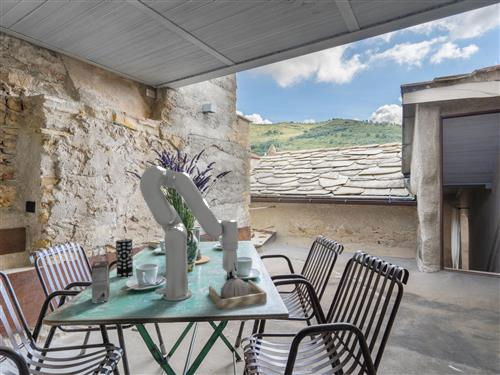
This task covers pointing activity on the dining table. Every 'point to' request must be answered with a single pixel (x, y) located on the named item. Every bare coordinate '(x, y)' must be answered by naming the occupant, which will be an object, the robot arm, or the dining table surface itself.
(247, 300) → the box
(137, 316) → the dining table surface
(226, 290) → the sea urchin shell
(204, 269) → the dining table surface
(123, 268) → the white-spotted black cylinder
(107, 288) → the coffee box
